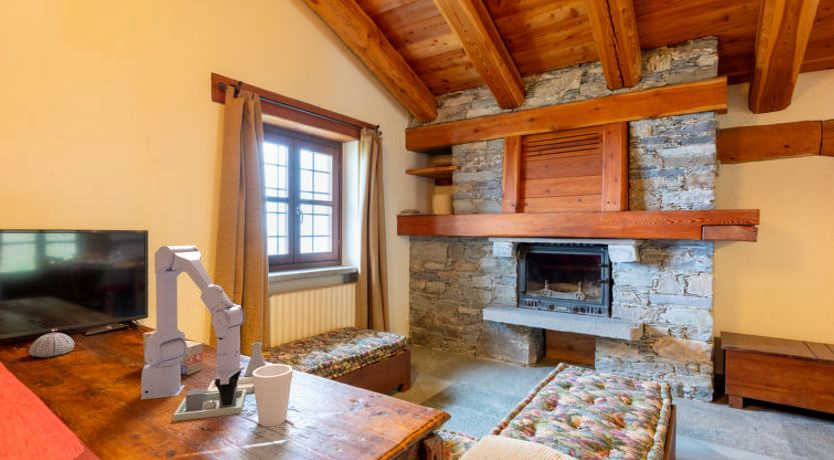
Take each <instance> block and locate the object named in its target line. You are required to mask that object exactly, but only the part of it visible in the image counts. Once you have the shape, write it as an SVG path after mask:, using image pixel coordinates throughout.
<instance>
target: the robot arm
mask: <svg viewBox="0 0 834 460" xmlns="http://www.w3.org/2000/svg"><path fill="white" fill-rule="evenodd" d="M201 253H202V252H201ZM201 253H200V251H199V249H198V247H197V246H196V245H193V244H188V245H162V246H159V248H158V249H157V250H156V251H155V252H154V273H155V314H156V315H155V325H156V326H155V330H156V332H155V333H153V334H152V335H151V336H150V337H149V338H148V339H147V345H146V349H145V352H144V351H143V359H144V358H145V360H146V362H147V363H148V364H149V365H145V366H144V365H143V368H142V371H141V384H140V385H141V387H140V388H141V390H140V391H141V392H140V393H141V397H140V400H147V399H150V400H151V399H160V398H167V397H177V396H179V395H180V393H181V392H182V391H183V389H184V388H185V387H186V386H185V384H182V383H181V382H182V381H181V380H182V378H181V375H182V374H181V369H180V361H182V360H183V356H185V354H186V352H187V343H186V341H187V340H186V334H185V332H184V331H181V330H180V329H178V277H179V275H181V274H182V273H186V274H187V275H188V277H189V278H190V279H191V280H192V281H193V283H194V284H195V285H196V286H197V287H198V290H200V291H201V294H200V299H201V301H202V303H204V306H205V307H206V308H207V310H208V311H209V313H210V315H212V318H211V319H210V320H211V325H212V326H213V328H214V335H215V337H216V369H215V372H216V374H217V375H218V377H219V378H215V379H214V380H215V385H216V387H217V388H218V390H219V392H220V396H221V400H222V404H223V406H226V405H231V404H232V401H233V395H234V390H235V386H236V385H237V382H238V379H239V378H240V375H241V373H242V371H243V370H245V369H246V366H245V365H243V364H242V365H241V326H242V325H243V324H244V323H245V320H246V319H245V318H246V316H245V311H244V310H243V308H242V306H241V305H238V304H236V303H234V302H232V301H231V299H230V298H229V296H228V295H227V293H226V292H225V291H224V288H223V287H222V286H221V285H217V284H214V283H213V281H212V279H211V278H210V276H209V274H208V272H207V270H206V269H205V267H204V266H203V264H202V254H201ZM183 332H184V333H183ZM181 384H182V385H181Z"/></svg>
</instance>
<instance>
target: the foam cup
mask: <svg viewBox="0 0 834 460" xmlns="http://www.w3.org/2000/svg"><path fill="white" fill-rule="evenodd" d="M292 380H293V367H292V366H291V365H290V364H289V365H287V364H285V363H284V364H282V363H279V364H278V363H277V364H276V363H274V364H268V365H267V364H266V366H263V367H259V368H257V369H256V370H254V371H253V373H252V383H253V385H254V392H253V393H254V397H255V404H256V412H257V419H258V423H259V424H260V426H263V427H275V426H279V425H281V424H283V423H285V421H287V416H288V409H289V399H290V393H291V386H292V385H291V384H292Z"/></svg>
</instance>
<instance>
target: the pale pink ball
mask: <svg viewBox="0 0 834 460" xmlns="http://www.w3.org/2000/svg"><path fill="white" fill-rule="evenodd" d="M210 409H216V402H215V401H213V400H209V401H207V402H206V403H205V404H204V410H210Z"/></svg>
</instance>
